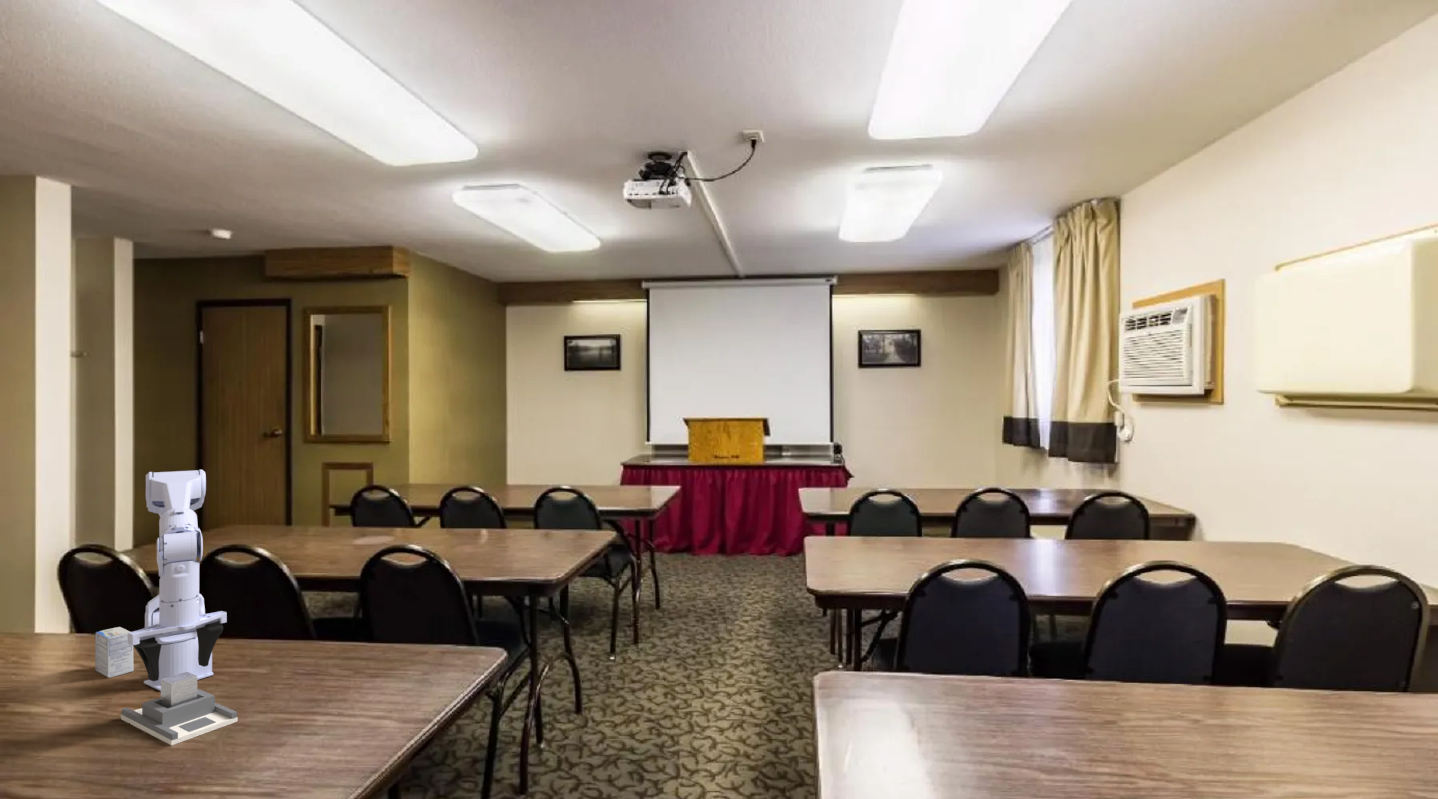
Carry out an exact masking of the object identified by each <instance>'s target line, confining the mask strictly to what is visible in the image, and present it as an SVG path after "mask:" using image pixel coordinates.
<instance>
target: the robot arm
mask: <svg viewBox="0 0 1438 799" xmlns="http://www.w3.org/2000/svg"><path fill="white" fill-rule="evenodd" d="M206 491H207V475H206V471H204V470H203V469H198V470H197V469H196V470H195V469H194V470H176V471H160V472H159V471H158V472H155V471H154V472H153V471H149V472H148V473H147V474H145V500H146V508H147V512H150V513H153V514H158V516H159V520H158V521H159V522H158V525H159V530H158V532H159V537H157V539H156V563H157V568H158V577H160V578H159V590H158V591H159V592H158V594H157V595H156V596H154V597H153V598H152V599H151V600H149V601H148V602H147V604H146V605H145V613H144V627H143V628H141V629H138V630H134V631H130V632H129V633H128V641H127V644H130V645H132V646H133V649H135V650H136V653H138V655H139V656H140V658H141V660H142V662H143V664H144V667H145V670H146V672H147V673H146V674H147V677H148V679H146V680H144V681H143V684H144V685H147V686H148V687H151V688H153V689H154V690H155V689H156V690H158V691H160V692H161V679H164V678H167V677H170V676H174V675H177V674H181V673H184V672H189V673H191V674H194V675H197V681H198V680H201V679H205V678H208V677H211V676H212V677H213V675H214V672H213V650H214V647H215V645H216V643H217V642H218V639H219V637H220V636H221V634H222V633H223V630H224V626H223V624H225V623H228V622H227V621H228V620H227V619H228V618H227V617H228V616H227V611H223V610H220V611H219V610H218V611H215V612H210V613H206V608H205V598H204V596H203V595H202V593H200V562H201V561H202V558H203V556H204V555H203V553H204V545H203V544H204V539H203V534H202V531H201V529H200V527H199V525H198V515H197V513H196V512H195V511H196V510H198V509H200V508H202V506H203V504H204V501H205V497H206V495H207V494H206ZM197 558H198V559H199V561H198V560H197Z"/></svg>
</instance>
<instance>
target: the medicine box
mask: <svg viewBox="0 0 1438 799" xmlns="http://www.w3.org/2000/svg"><path fill="white" fill-rule="evenodd" d="M129 632H131V631H129V630H127V629H126V628H123V627H121V626H118V627H117V626H116V627H113V628H108V629H107V628H106V629H103V630H99V631H96V632H95V639H94V641H95V643H94V644H95V646H94V647H95V648H94V649H95V652H94V654H95V656H94V657H95V658H94V662H95V664H94V665H95V666H94V667H95V672H97V673H99V674H101V675H103V676H105V677H107V678H108V679H110V678H114V677H119V676H122V675H125V674H129V672H130V673H133V672H134V646H132V645H130V644H127V641H128V633H129Z"/></svg>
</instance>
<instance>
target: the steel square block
mask: <svg viewBox="0 0 1438 799" xmlns="http://www.w3.org/2000/svg"><path fill="white" fill-rule="evenodd" d="M197 688H198V680H197V675H194V674H191V673H189V672H184V673H181V674H177V675H174V676H170V677H167V678H164V679H161V691H160V697H161V706H163V707H165V708H167V709H168V708H171V707H174V706H177V705H181V704H184V703H187V702H190V701H193V700H196V699H197Z"/></svg>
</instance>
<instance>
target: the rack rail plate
mask: <svg viewBox="0 0 1438 799" xmlns="http://www.w3.org/2000/svg"><path fill="white" fill-rule="evenodd" d="M141 707H142V708H141ZM141 707H140V708H138V709H135V710H133V709H131V708H129V707H123V708H121V714H120V719H121V720H122V721H124V722H125V723H127V724H129V723H130V725H132V726H133V727H135V728H137V729H139V730H141V731H142V732H144V733H146V734H149V735H150V736H153V737H154V738H156V739H158V740H160V741H161V742H164V743H166V744H168V745H170V746H174V745H177V744H179V743H182V742H185V741H188V740H190V739H193V738H195V737H198V736H201V735H205V734H207V733H210V732H213V731H214V730H218V729H221V728H223V727H226V726H228V725H232V724H235V723H236V722H239V721H238V720H239V719H238V711H236V710H234V709H231V708H229V707H227V706H225V705H222V704H220V703H217V702H216V696H215V695H214V694H212V693H209V692H208V691H204V690H203V689H200V688H198V687H197V699H196V700H193V701H190V702H187V703H184V704H181V705H177V706H174V707H171V708H168V709H167V708H165V707H163V706H161V696H160V697H158V698H154V699H150V700H148V701H145V702H142V704H141Z"/></svg>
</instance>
